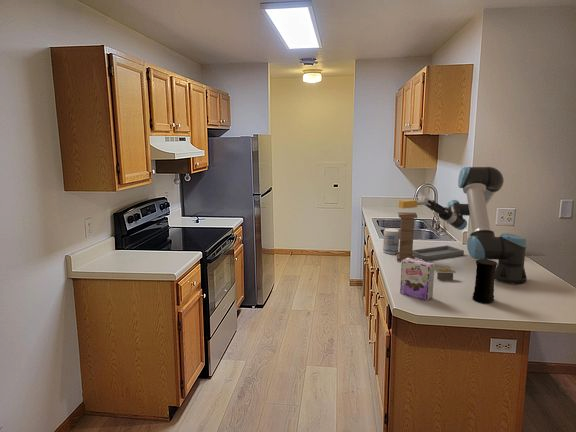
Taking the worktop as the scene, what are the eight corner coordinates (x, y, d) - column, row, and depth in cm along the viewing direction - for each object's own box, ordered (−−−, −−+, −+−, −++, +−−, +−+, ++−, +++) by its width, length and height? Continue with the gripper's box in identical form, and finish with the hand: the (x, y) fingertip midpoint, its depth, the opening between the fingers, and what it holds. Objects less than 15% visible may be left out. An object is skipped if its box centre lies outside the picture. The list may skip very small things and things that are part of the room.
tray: (425, 261, 246) (425, 256, 246) (409, 255, 259) (410, 250, 258) (463, 255, 258) (464, 250, 257) (446, 249, 270) (447, 245, 270)
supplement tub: (387, 255, 259) (388, 232, 256) (380, 251, 268) (381, 228, 265) (401, 253, 262) (402, 231, 259) (393, 249, 271) (394, 227, 268)
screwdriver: (403, 208, 239) (403, 201, 239) (398, 207, 243) (399, 200, 242) (435, 205, 249) (436, 199, 248) (431, 204, 252) (431, 198, 252)
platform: (423, 275, 221) (424, 264, 220) (458, 276, 220) (459, 264, 219) (429, 283, 210) (430, 271, 208) (466, 284, 208) (467, 271, 207)
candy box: (399, 293, 196) (401, 259, 193) (405, 290, 200) (407, 257, 197) (426, 301, 186) (429, 265, 183) (433, 297, 190) (435, 263, 187)
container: (487, 296, 192) (491, 258, 188) (498, 303, 183) (501, 264, 179) (468, 296, 191) (471, 258, 188) (478, 304, 183) (481, 264, 179)
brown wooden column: (414, 262, 243) (417, 215, 238) (397, 261, 245) (399, 215, 240) (413, 257, 253) (415, 212, 248) (396, 257, 255) (398, 212, 250)
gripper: (454, 222, 249) (428, 205, 239) (435, 218, 263) (410, 202, 253) (459, 211, 249) (434, 194, 239) (441, 207, 263) (416, 191, 253)
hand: (422, 198), depth 246 cm, fingers closed on screwdriver, 2 cm apart
